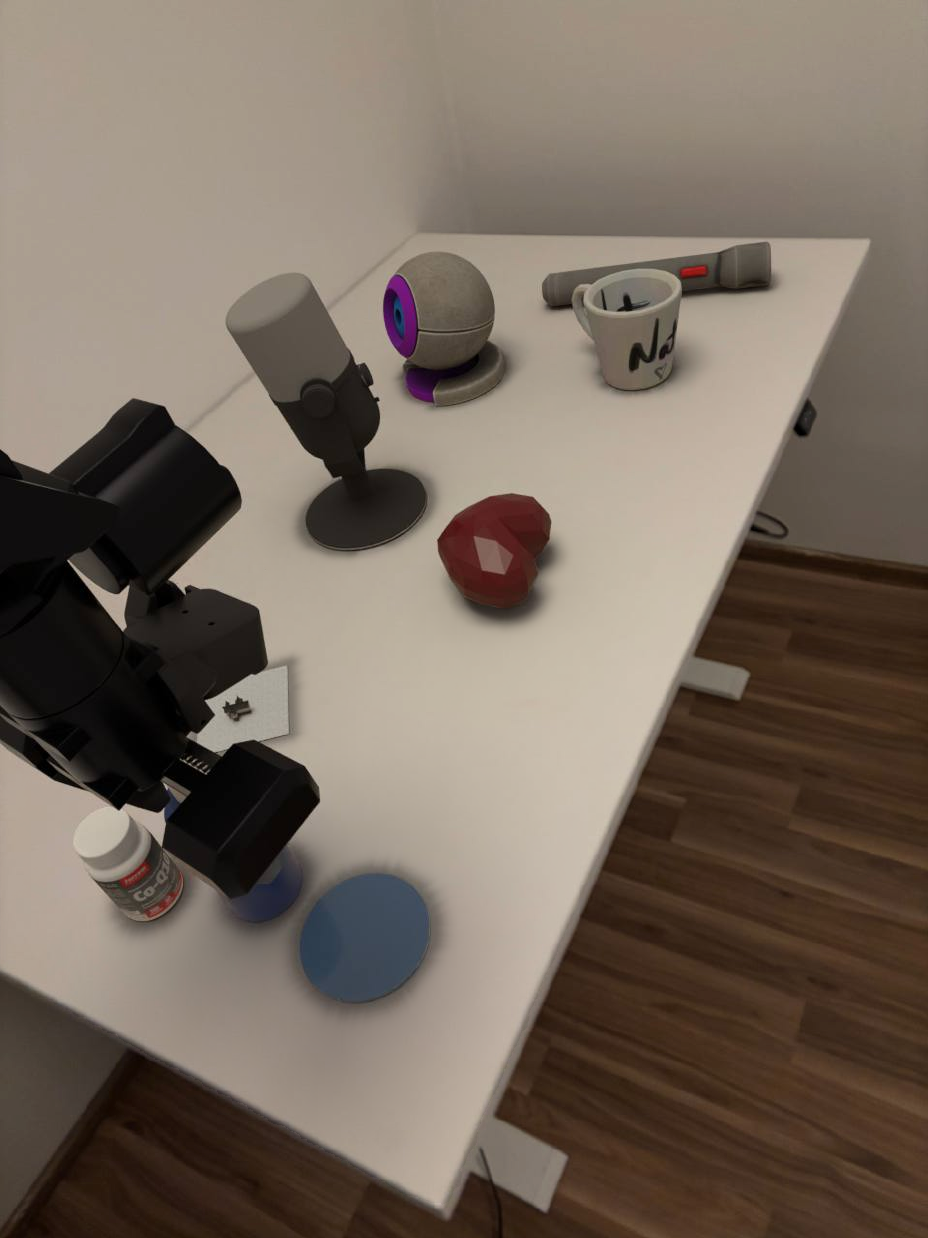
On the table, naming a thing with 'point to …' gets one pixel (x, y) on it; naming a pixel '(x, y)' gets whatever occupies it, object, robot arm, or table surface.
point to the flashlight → (677, 272)
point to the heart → (495, 548)
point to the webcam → (443, 328)
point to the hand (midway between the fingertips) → (216, 838)
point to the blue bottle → (262, 897)
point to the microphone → (325, 411)
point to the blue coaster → (365, 937)
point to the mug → (632, 324)
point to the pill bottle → (128, 863)
